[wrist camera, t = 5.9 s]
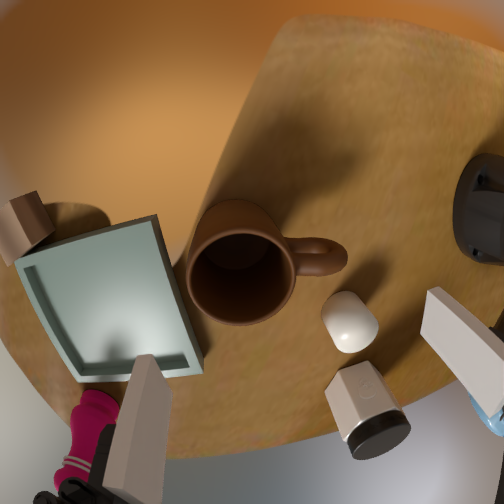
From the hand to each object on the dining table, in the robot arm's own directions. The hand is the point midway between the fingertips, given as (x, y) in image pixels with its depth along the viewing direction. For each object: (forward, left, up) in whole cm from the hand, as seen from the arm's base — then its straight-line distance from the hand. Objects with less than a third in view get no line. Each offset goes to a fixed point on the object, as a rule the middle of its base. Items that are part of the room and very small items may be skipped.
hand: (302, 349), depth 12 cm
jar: (-10, +25, -17) cm, 32 cm away
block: (+24, -7, -17) cm, 30 cm away
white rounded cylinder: (-8, +11, -17) cm, 22 cm away
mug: (0, 0, -17) cm, 17 cm away
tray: (+18, +5, -17) cm, 25 cm away
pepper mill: (+28, +21, -17) cm, 39 cm away
